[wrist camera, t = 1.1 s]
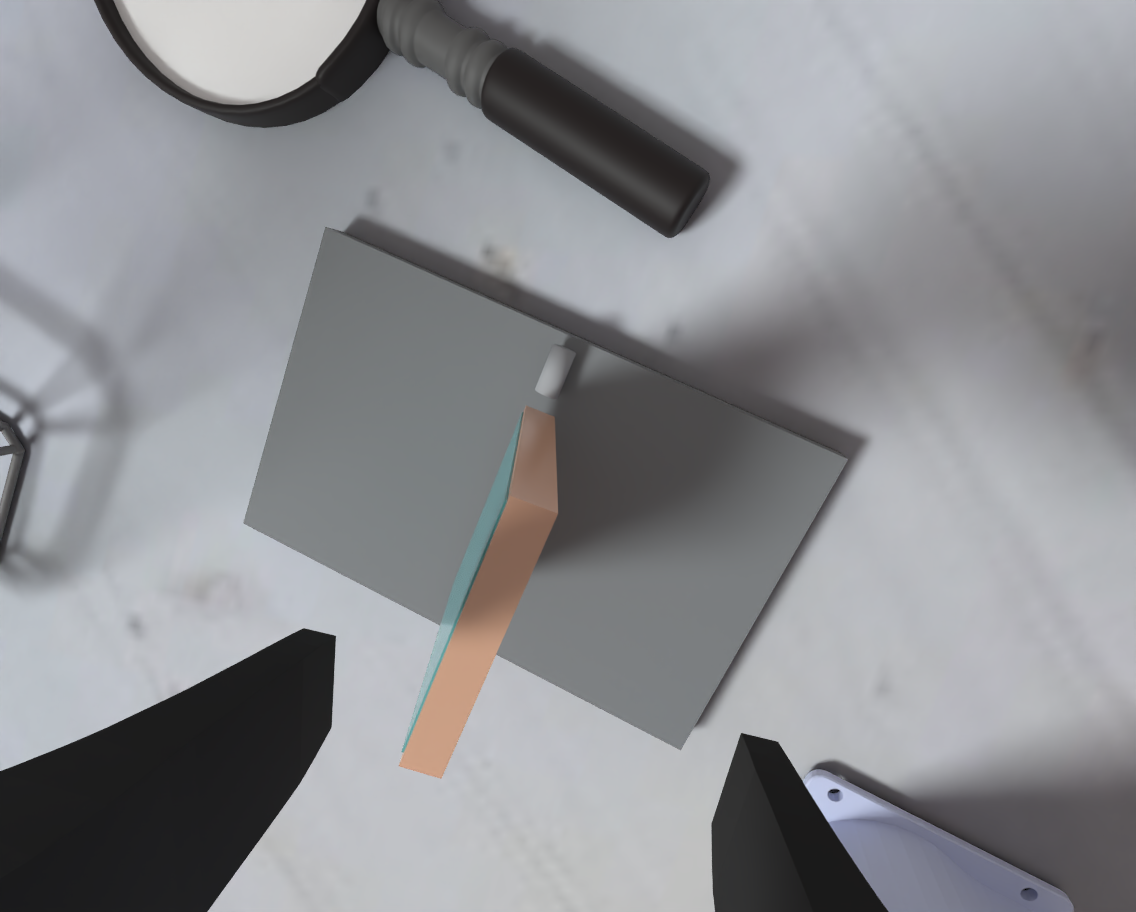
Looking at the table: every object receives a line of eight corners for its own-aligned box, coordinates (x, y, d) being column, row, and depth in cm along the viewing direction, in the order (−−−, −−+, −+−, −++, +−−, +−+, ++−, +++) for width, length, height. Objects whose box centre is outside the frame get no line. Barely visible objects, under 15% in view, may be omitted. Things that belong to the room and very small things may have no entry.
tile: (558, 513, 12) (507, 494, 11) (441, 778, 13) (396, 765, 13) (554, 416, 19) (524, 405, 19) (480, 594, 21) (452, 584, 21)
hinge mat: (840, 453, 19) (855, 465, 17) (681, 732, 22) (680, 767, 21) (342, 231, 21) (309, 222, 20) (261, 515, 25) (226, 530, 23)
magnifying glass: (587, 376, 21) (574, 379, 19) (80, 24, 23) (18, -8, 21) (818, 23, 17) (833, -19, 15) (197, -358, 19) (136, -441, 17)
